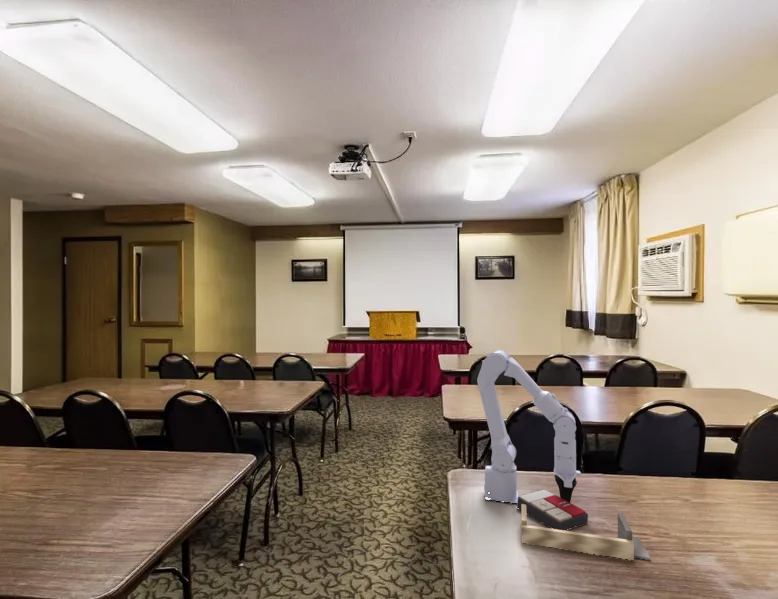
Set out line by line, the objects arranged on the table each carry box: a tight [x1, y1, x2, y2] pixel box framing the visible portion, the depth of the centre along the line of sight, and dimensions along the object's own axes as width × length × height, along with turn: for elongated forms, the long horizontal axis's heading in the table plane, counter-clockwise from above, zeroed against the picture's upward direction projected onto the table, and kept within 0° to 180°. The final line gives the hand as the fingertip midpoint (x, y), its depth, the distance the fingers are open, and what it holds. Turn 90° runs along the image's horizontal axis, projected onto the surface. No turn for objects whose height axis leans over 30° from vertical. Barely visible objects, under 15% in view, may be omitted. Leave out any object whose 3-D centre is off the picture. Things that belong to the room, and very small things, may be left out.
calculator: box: [516, 489, 589, 531], centre depth 116 cm, size 11×4×15 cm
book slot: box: [520, 504, 651, 561], centre depth 103 cm, size 28×10×6 cm, turn 73°
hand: (565, 502), depth 121 cm, fingers closed
